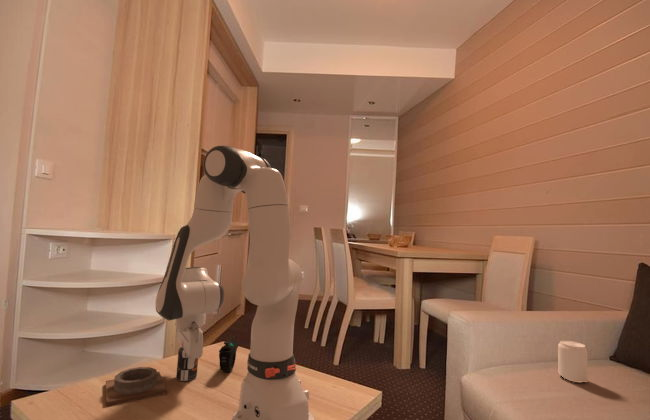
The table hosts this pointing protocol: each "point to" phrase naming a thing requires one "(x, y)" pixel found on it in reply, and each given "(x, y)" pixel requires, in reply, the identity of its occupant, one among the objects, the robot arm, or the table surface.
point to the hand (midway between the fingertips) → (187, 363)
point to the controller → (228, 355)
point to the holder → (134, 385)
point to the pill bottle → (185, 367)
